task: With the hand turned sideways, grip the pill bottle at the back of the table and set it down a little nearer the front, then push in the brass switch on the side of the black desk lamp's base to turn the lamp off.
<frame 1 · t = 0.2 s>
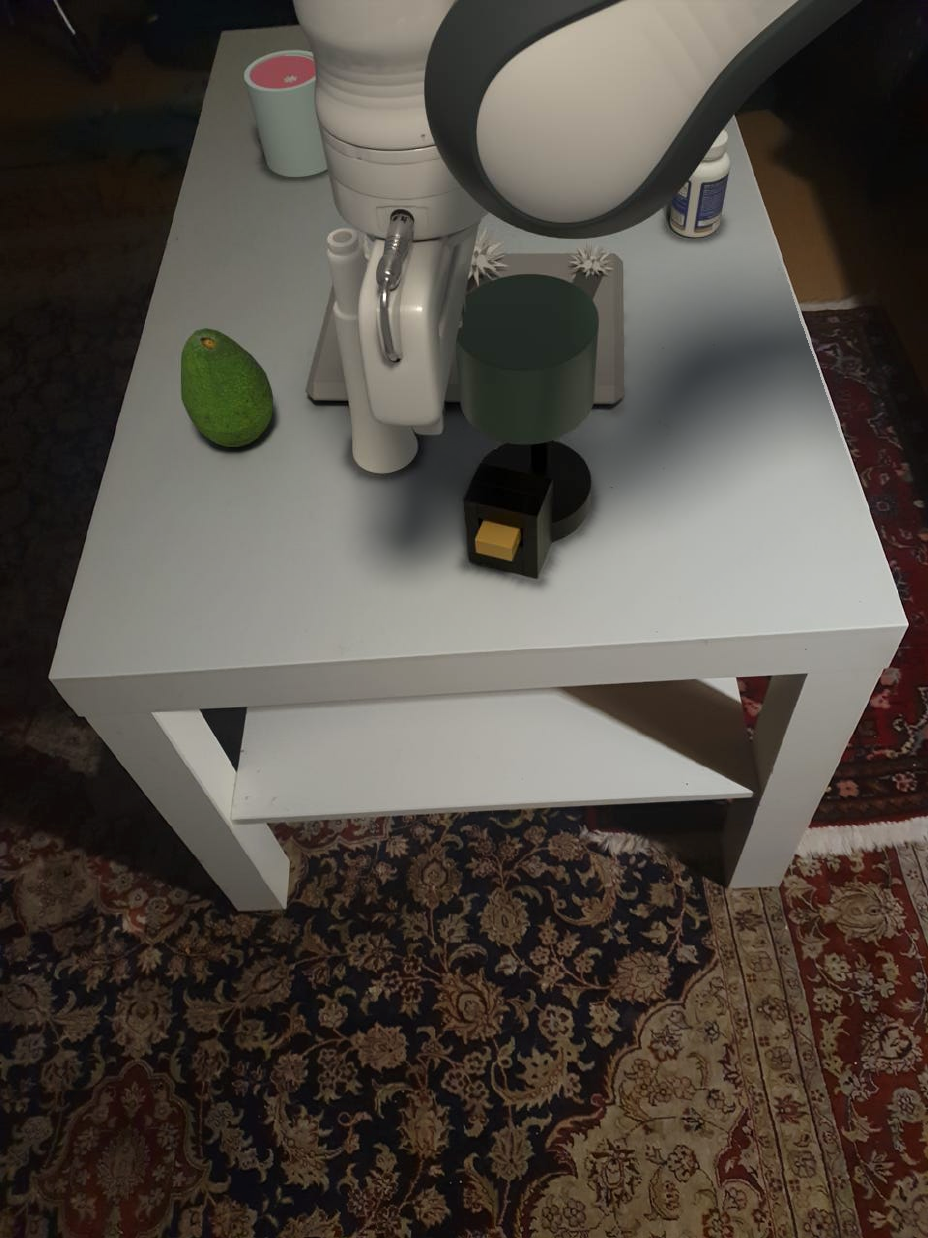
hand: (441, 371, 57), 22 cm above the table, tool pointing down, fingers open, 8 cm apart
pill bottle: (694, 225, 100), on the table
mug: (306, 146, 114), on the table
fruit: (243, 436, 87), on the table
decorative plate: (471, 336, 93), on the table
power adapter: (337, 67, 124), on the table
decorative bowl: (521, 156, 109), on the table
lamp switch: (498, 538, 72), point 5 cm above the table, slide at 0.0 cm
desk lamp: (532, 499, 80), on the table
cosmetic bottle: (385, 451, 85), on the table
bird model: (372, 90, 120), on the table
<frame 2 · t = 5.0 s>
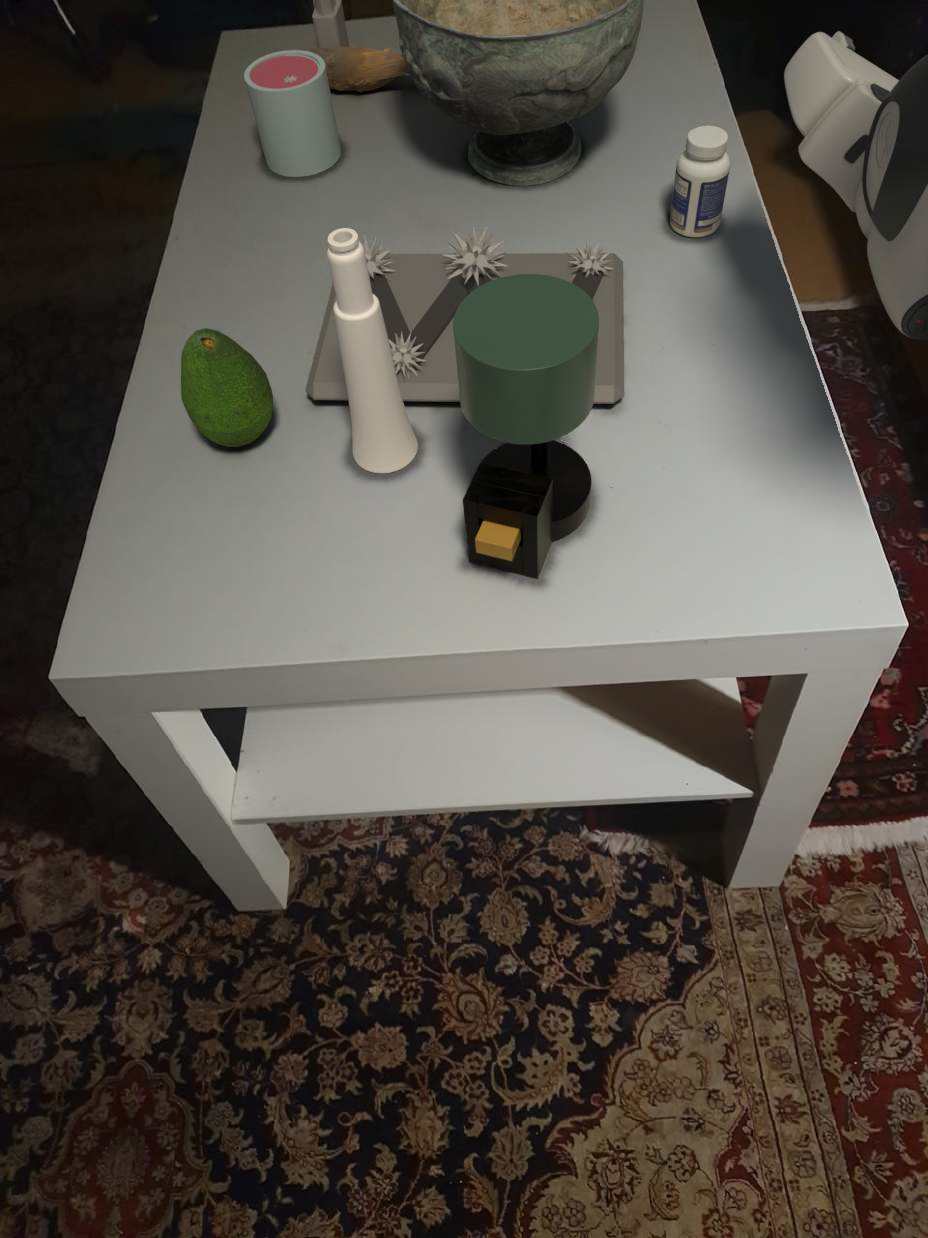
hand: (878, 68, 78), 19 cm above the table, tool horizontal, fingers open, 8 cm apart
nothing on the table moved.
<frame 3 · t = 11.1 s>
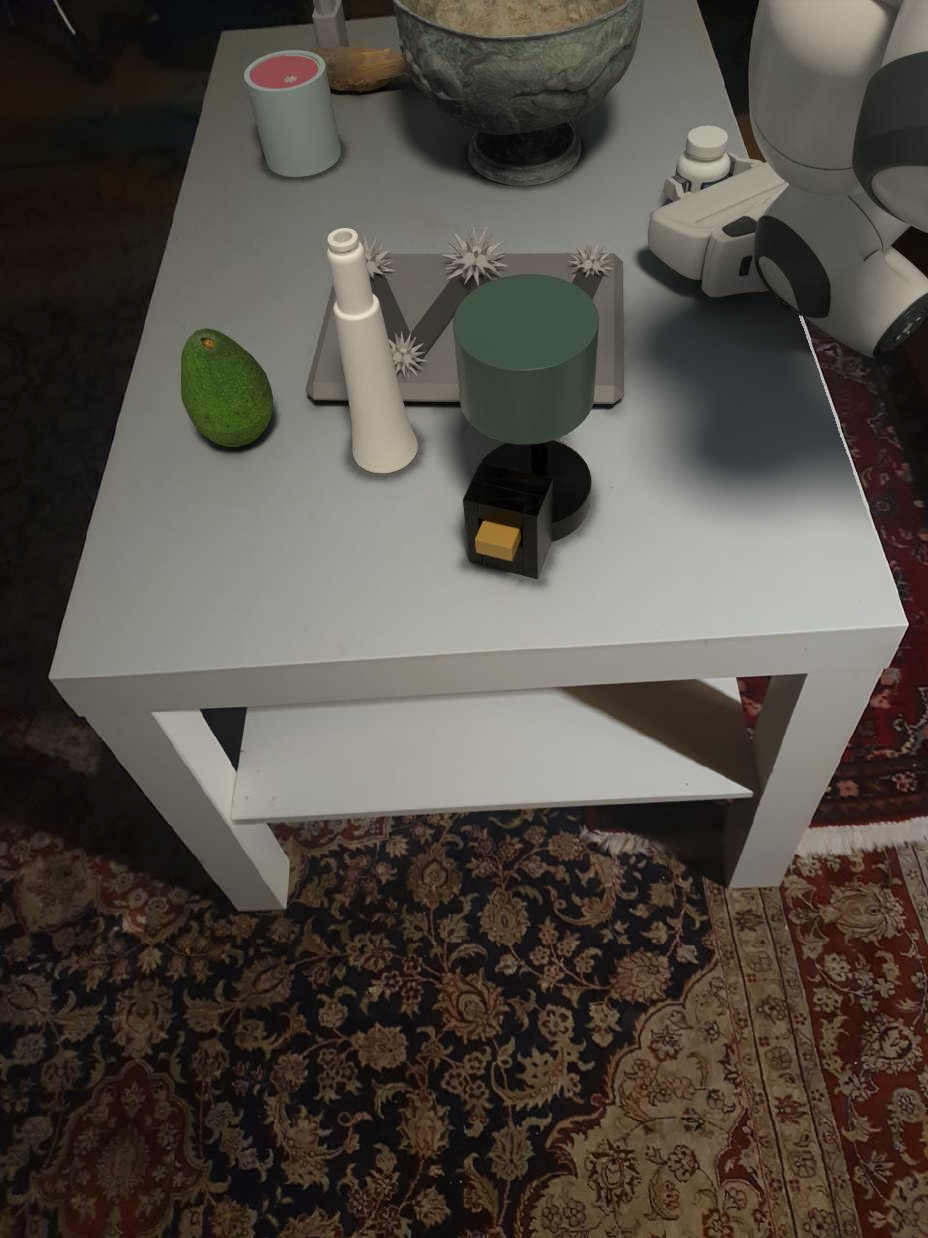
hand: (695, 171, 95), 6 cm above the table, tool horizontal, fingers closed on pill bottle, 5 cm apart
pill bottle: (693, 225, 100), on the table, touching gripper
everything else where it was.
when the fingers open (6 cm above the table, at t = 20.0 s): pill bottle stays where it is, on the table.
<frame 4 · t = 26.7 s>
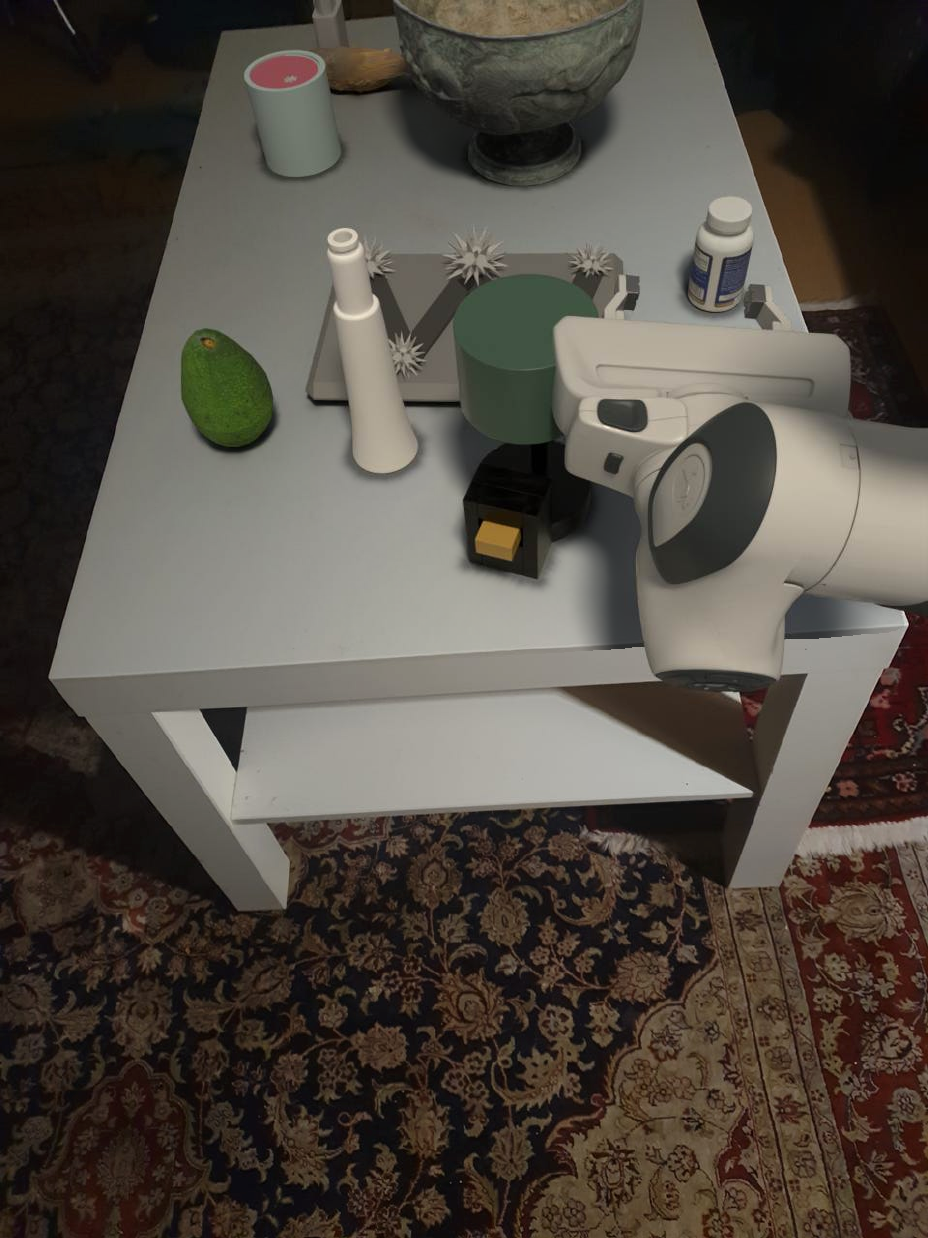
hand: (691, 285, 65), 19 cm above the table, tool horizontal, fingers open, 8 cm apart
pill bottle: (713, 298, 93), on the table
everything else where it was.
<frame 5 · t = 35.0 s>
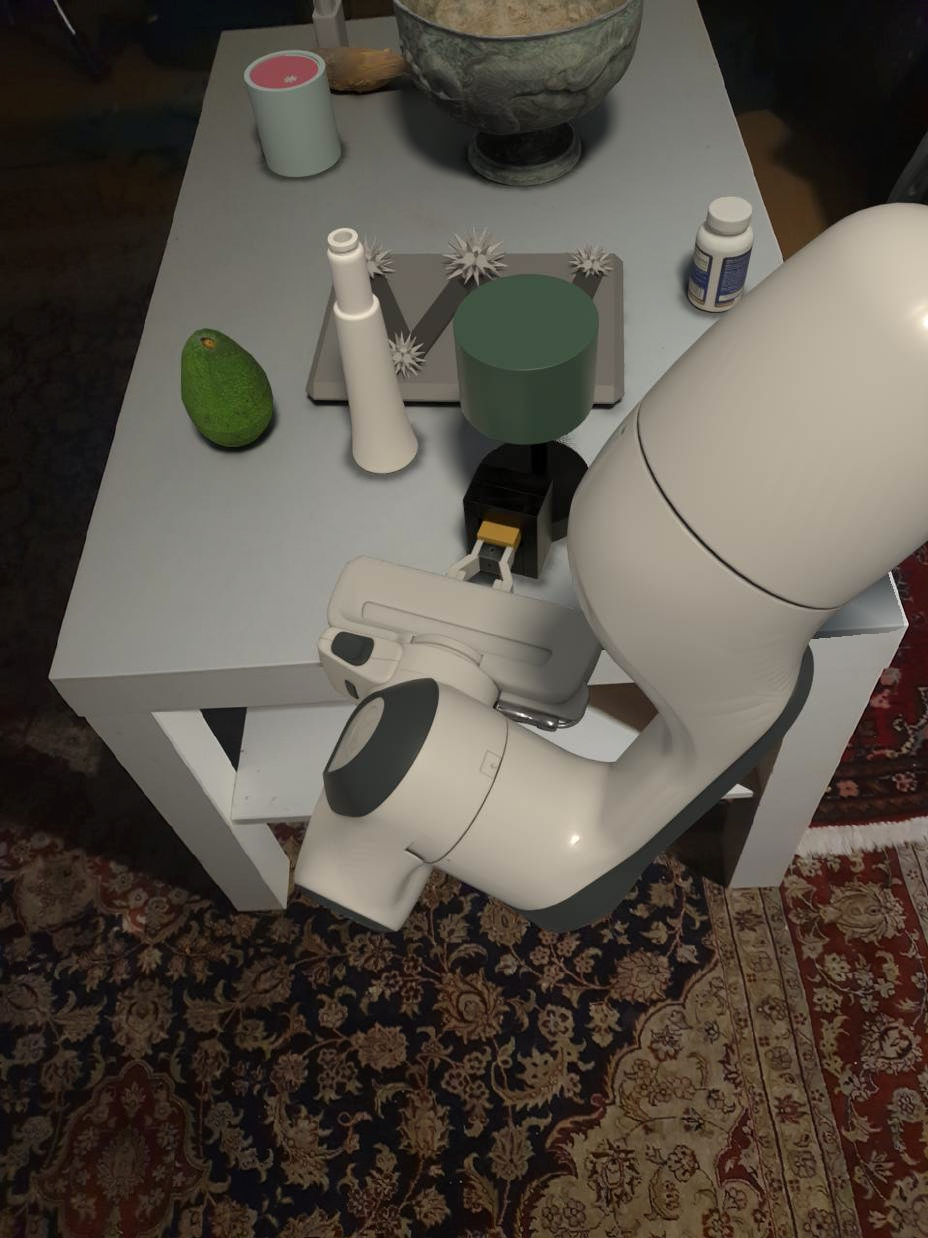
hand: (496, 547, 71), 5 cm above the table, tool horizontal, fingers closed, pressing on lamp switch
lamp switch: (500, 534, 72), point 5 cm above the table, slide at 0.5 cm, touching gripper
everything else where it was.
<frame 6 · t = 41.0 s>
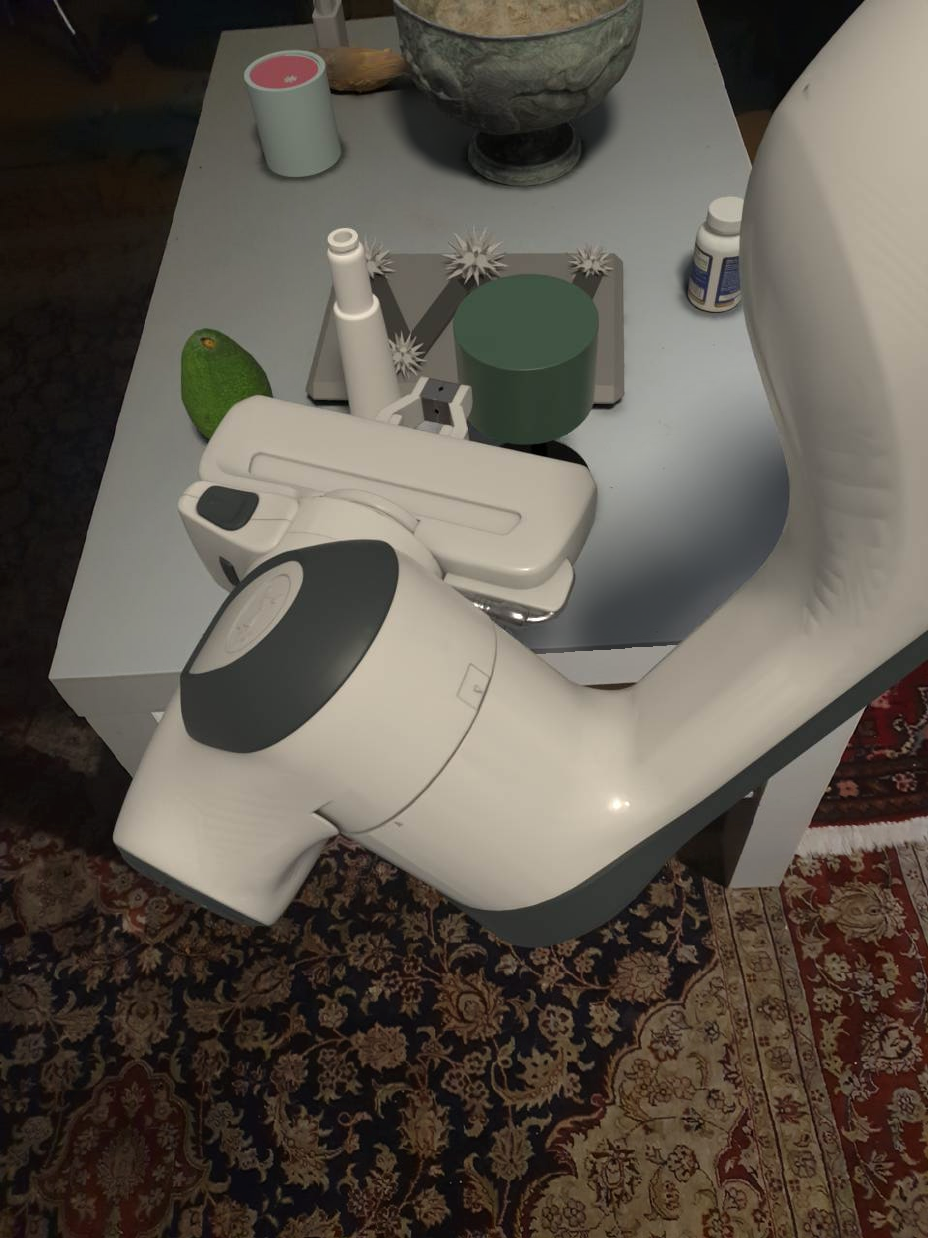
hand: (448, 389, 51), 26 cm above the table, tool horizontal, fingers closed
lamp switch: (502, 528, 72), point 5 cm above the table, slide at 1.0 cm
everything else where it was.
at the end: pill bottle inside the target area (0.1 cm from its centre), on the table; pill bottle tilted 0°; lamp switch pulled out 1.0 cm at the most during the clip, back to 1.0 cm at the end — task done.
